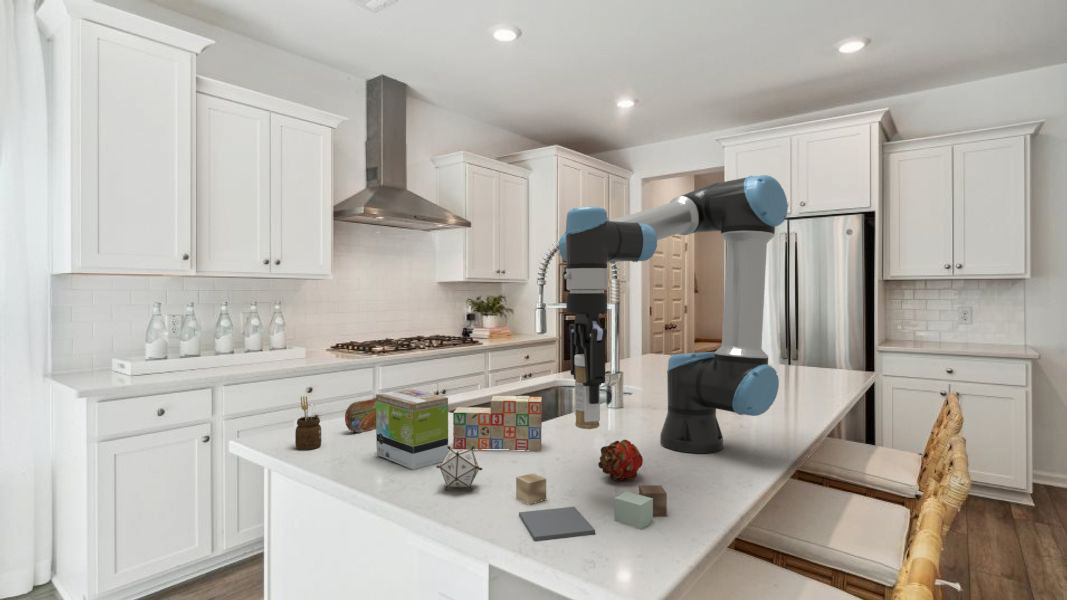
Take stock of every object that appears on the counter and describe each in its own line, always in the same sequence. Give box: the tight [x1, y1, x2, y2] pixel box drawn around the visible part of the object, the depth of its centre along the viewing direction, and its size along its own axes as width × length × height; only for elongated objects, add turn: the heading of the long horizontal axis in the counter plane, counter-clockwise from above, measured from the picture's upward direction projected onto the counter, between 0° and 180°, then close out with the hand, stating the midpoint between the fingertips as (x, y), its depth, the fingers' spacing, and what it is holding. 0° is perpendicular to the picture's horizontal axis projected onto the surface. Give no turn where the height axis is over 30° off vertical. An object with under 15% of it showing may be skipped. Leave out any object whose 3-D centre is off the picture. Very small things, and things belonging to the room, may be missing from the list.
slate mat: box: [518, 506, 596, 542], centre depth 93 cm, size 10×10×1 cm
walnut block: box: [638, 484, 668, 517], centre depth 99 cm, size 4×4×4 cm
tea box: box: [375, 388, 449, 471], centre depth 129 cm, size 15×10×15 cm, turn 47°
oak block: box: [515, 472, 547, 505], centre depth 104 cm, size 4×4×4 cm
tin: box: [344, 397, 376, 434], centre depth 156 cm, size 15×3×8 cm, turn 147°
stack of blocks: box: [452, 395, 543, 452], centre depth 139 cm, size 21×6×12 cm, turn 87°
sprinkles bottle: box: [574, 354, 600, 430], centre depth 105 cm, size 5×5×13 cm
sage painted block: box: [613, 491, 654, 530], centre depth 94 cm, size 4×5×4 cm
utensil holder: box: [294, 396, 322, 451], centre depth 138 cm, size 6×6×12 cm
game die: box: [435, 445, 483, 492], centre depth 110 cm, size 9×8×10 cm
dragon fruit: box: [597, 439, 644, 482], centre depth 116 cm, size 8×8×12 cm
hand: (587, 417), depth 105 cm, fingers closed on sprinkles bottle, 4 cm apart
